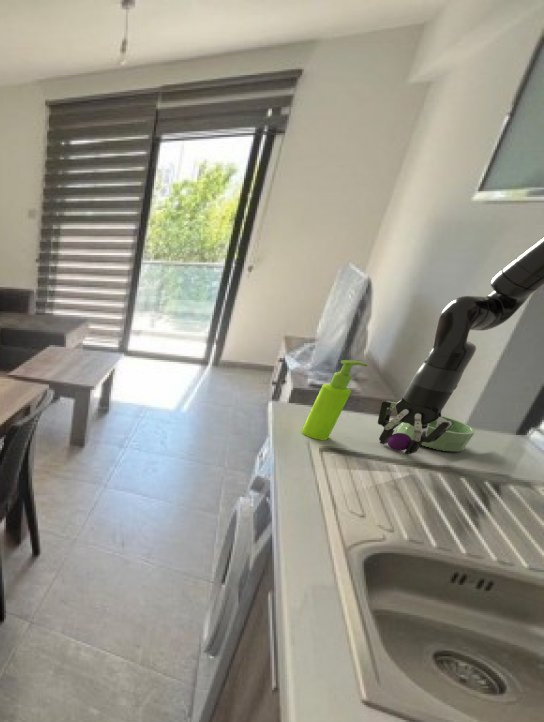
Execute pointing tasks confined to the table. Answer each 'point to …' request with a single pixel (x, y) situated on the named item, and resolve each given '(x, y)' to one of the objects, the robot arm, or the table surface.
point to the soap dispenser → (329, 403)
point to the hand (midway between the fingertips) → (395, 448)
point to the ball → (399, 441)
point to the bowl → (443, 435)
